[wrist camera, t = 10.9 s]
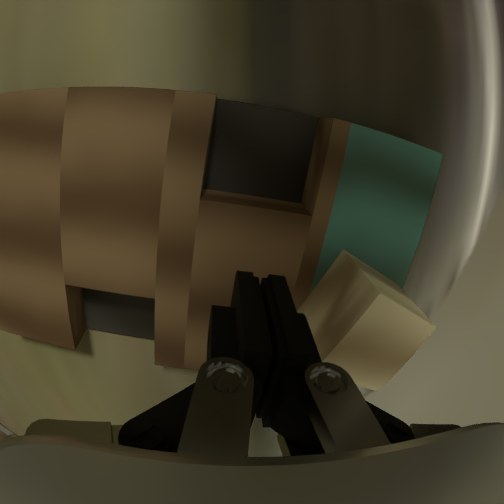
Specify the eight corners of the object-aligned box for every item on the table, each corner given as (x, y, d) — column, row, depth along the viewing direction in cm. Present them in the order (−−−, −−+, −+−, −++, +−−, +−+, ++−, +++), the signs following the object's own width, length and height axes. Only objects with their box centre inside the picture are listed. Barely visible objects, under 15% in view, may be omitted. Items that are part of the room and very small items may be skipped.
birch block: (343, 249, 18) (380, 293, 13) (396, 284, 19) (436, 327, 15) (294, 314, 19) (313, 370, 15) (351, 340, 21) (377, 391, 16)
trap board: (2, 96, 14) (-24, 97, 12) (417, 148, 19) (442, 154, 16) (14, 308, 21) (-3, 328, 18) (350, 351, 25) (362, 375, 22)
